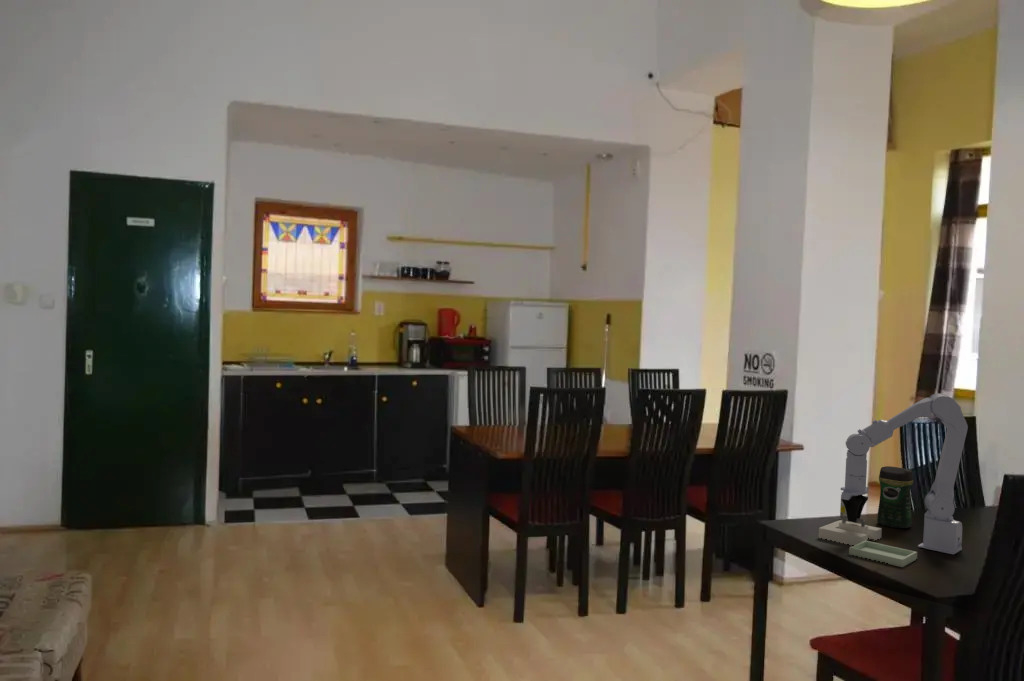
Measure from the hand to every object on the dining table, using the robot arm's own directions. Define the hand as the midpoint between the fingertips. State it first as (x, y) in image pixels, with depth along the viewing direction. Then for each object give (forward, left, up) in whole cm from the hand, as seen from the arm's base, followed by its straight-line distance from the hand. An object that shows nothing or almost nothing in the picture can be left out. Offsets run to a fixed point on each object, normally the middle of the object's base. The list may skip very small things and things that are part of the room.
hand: (853, 520), depth 238 cm
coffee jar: (-2, -27, -6) cm, 28 cm away
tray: (-13, +12, -5) cm, 18 cm away
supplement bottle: (+10, -22, -6) cm, 25 cm away
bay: (0, 0, -5) cm, 5 cm away
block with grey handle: (0, 0, -6) cm, 6 cm away
